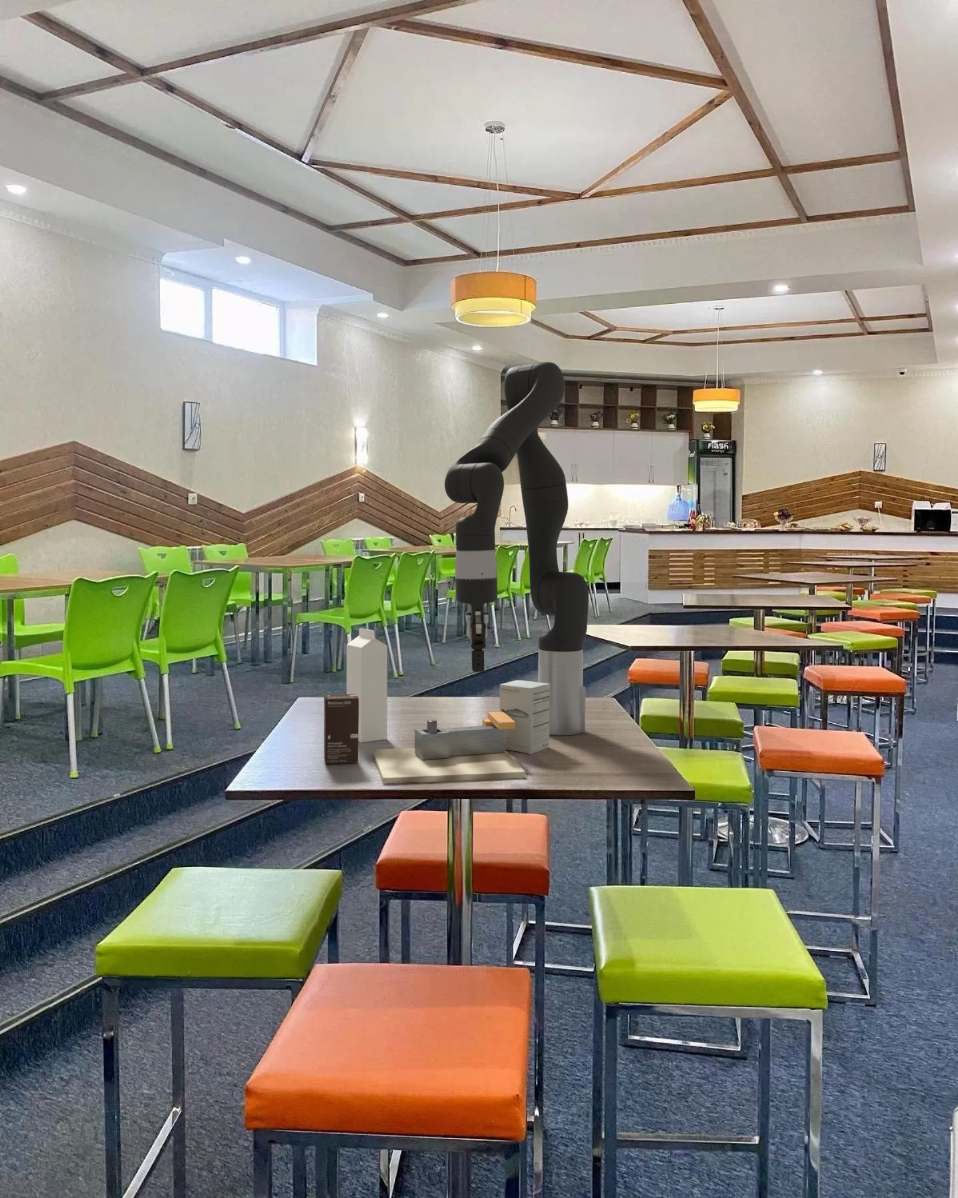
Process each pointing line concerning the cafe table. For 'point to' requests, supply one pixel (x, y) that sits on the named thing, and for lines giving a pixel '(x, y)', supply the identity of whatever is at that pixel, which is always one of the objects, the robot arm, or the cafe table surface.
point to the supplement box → (526, 715)
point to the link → (459, 741)
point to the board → (443, 767)
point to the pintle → (432, 728)
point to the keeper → (499, 720)
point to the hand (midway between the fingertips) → (478, 671)
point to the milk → (368, 684)
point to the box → (341, 728)
